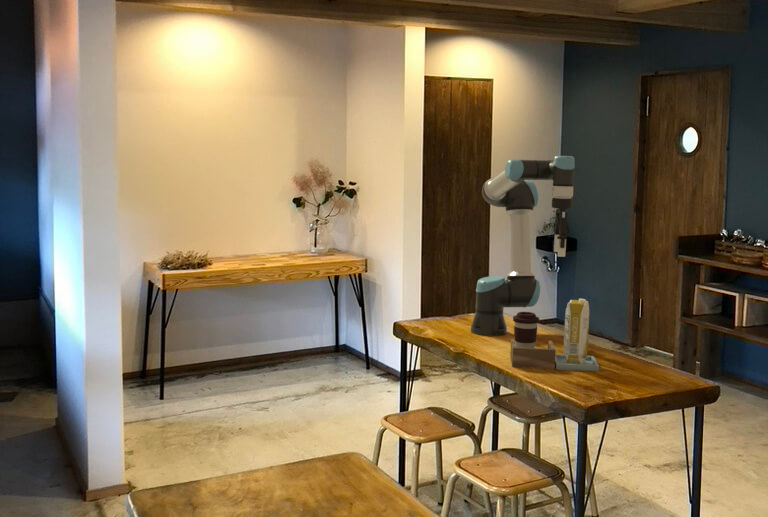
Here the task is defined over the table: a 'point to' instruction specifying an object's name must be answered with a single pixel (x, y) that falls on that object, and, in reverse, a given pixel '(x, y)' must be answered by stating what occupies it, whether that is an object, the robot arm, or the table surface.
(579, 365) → the tray
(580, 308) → the juice carton
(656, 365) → the table surface
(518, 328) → the coffee cup
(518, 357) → the bay
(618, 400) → the table surface
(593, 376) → the table surface
